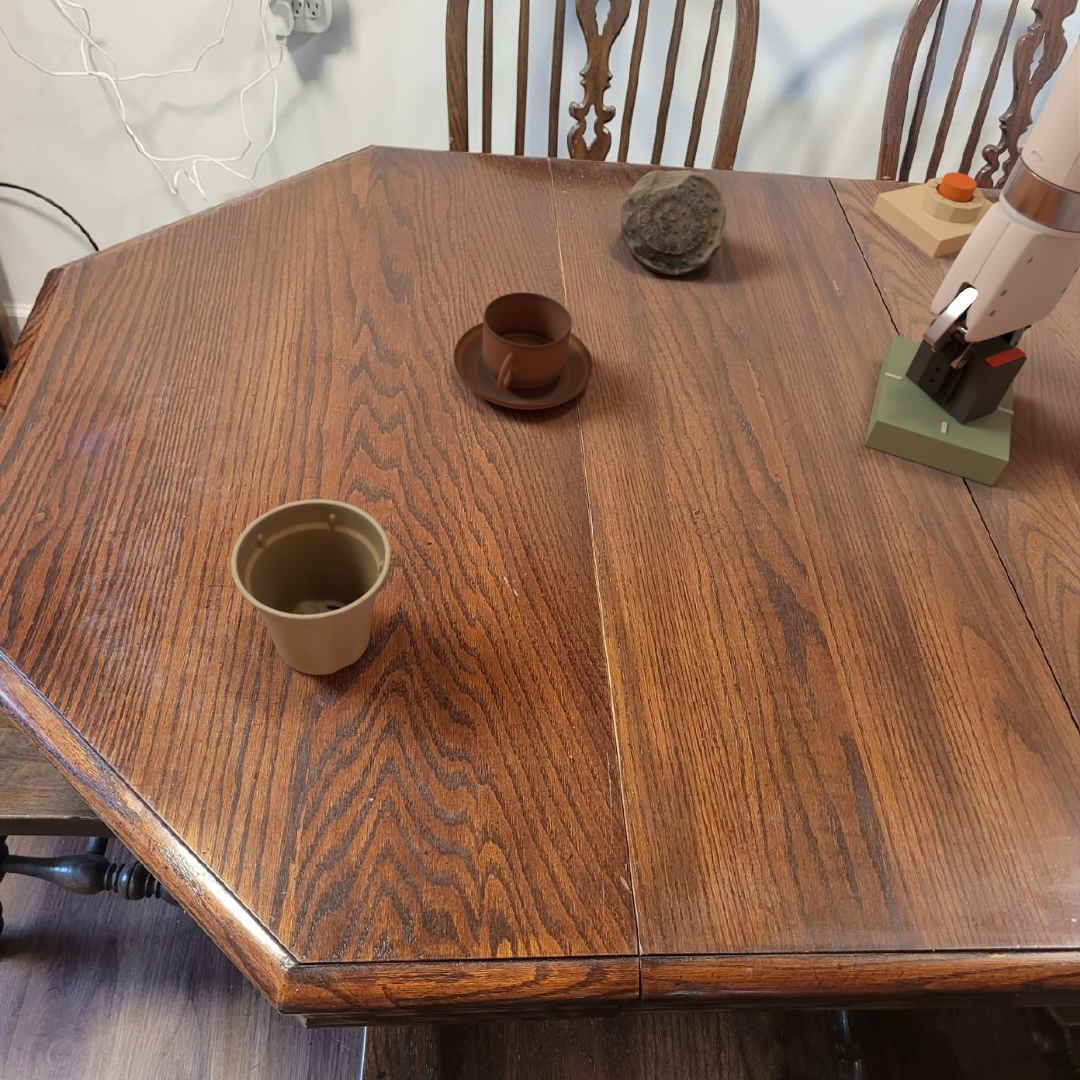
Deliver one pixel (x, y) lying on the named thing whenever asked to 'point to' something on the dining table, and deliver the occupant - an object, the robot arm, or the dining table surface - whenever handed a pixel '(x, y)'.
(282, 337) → the dining table surface
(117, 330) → the dining table surface
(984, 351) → the black block
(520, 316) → the cup and saucer
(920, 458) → the stand
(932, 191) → the box
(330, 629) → the flower pot
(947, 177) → the button
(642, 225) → the fossil
